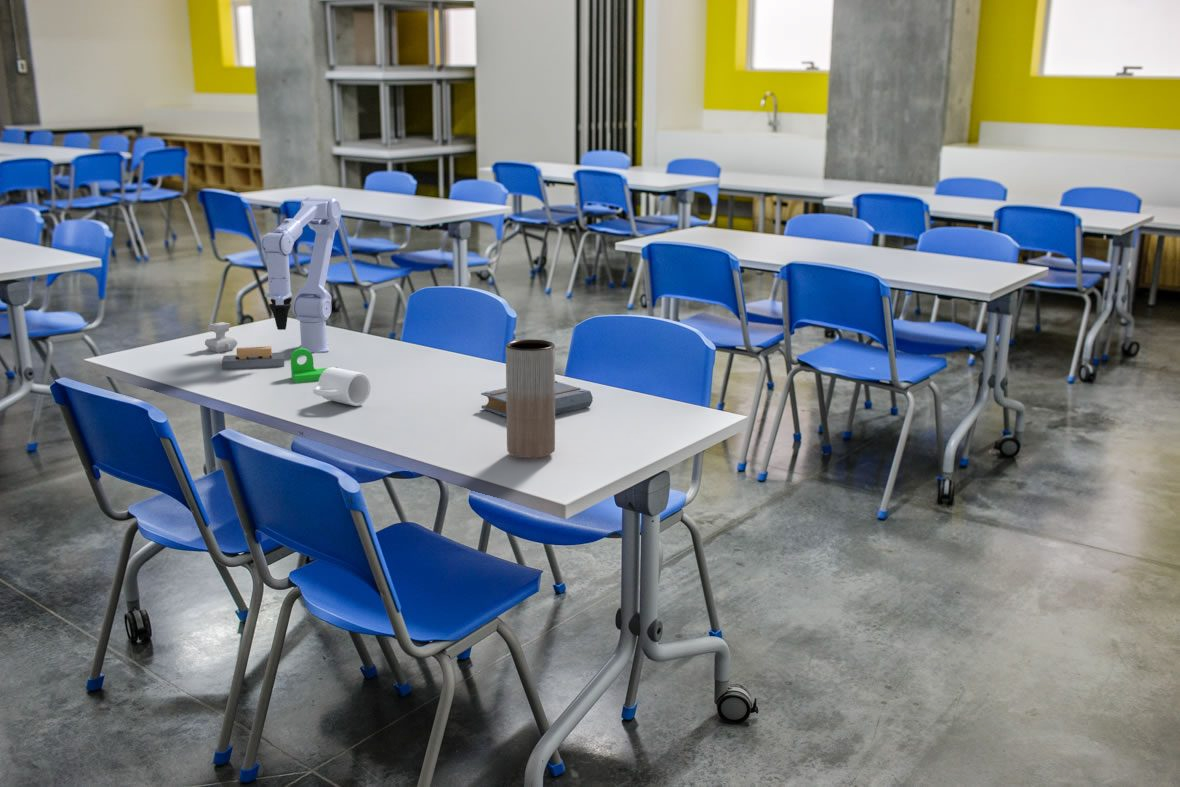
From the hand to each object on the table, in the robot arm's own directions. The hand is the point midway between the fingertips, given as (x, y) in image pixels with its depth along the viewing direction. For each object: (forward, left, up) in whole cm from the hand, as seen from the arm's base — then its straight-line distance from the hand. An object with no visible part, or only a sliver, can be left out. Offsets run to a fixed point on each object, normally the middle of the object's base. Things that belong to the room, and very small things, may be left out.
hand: (282, 326), depth 303 cm
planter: (+92, +52, -11) cm, 106 cm away
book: (+58, +60, -11) cm, 84 cm away
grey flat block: (+1, -8, -10) cm, 13 cm away
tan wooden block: (+1, -8, -10) cm, 13 cm away
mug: (+46, +14, -11) cm, 49 cm away
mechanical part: (+18, +9, -11) cm, 23 cm away
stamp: (-19, -18, -11) cm, 28 cm away
